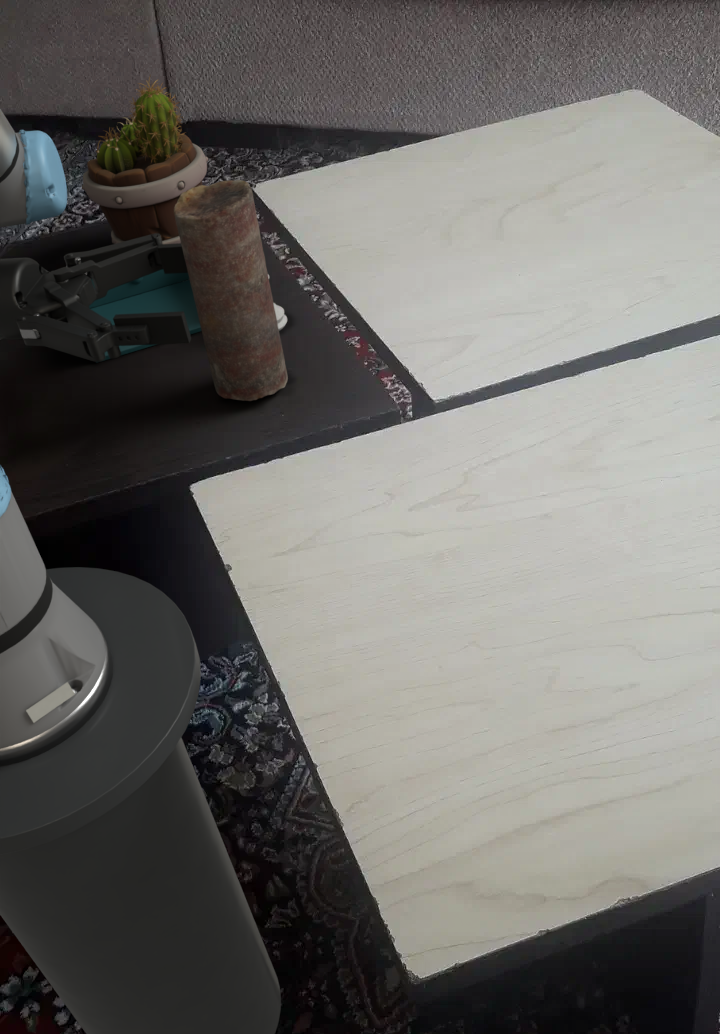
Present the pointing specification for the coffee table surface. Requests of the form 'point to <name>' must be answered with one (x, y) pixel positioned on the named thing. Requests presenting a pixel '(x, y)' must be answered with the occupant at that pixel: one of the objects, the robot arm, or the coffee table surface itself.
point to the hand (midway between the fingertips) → (206, 289)
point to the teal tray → (150, 301)
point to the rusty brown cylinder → (231, 289)
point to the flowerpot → (145, 170)
